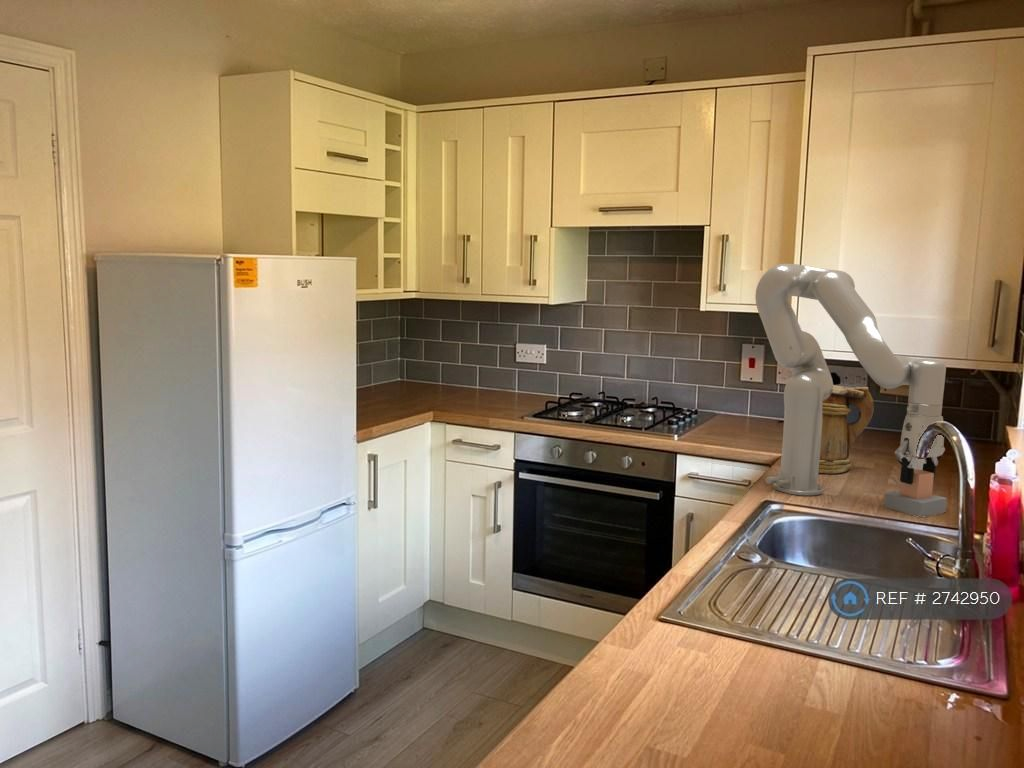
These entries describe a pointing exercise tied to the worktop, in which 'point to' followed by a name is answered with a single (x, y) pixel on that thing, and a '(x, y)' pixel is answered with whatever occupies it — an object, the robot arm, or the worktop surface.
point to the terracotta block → (919, 485)
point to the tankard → (842, 426)
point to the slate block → (915, 504)
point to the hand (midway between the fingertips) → (917, 481)
